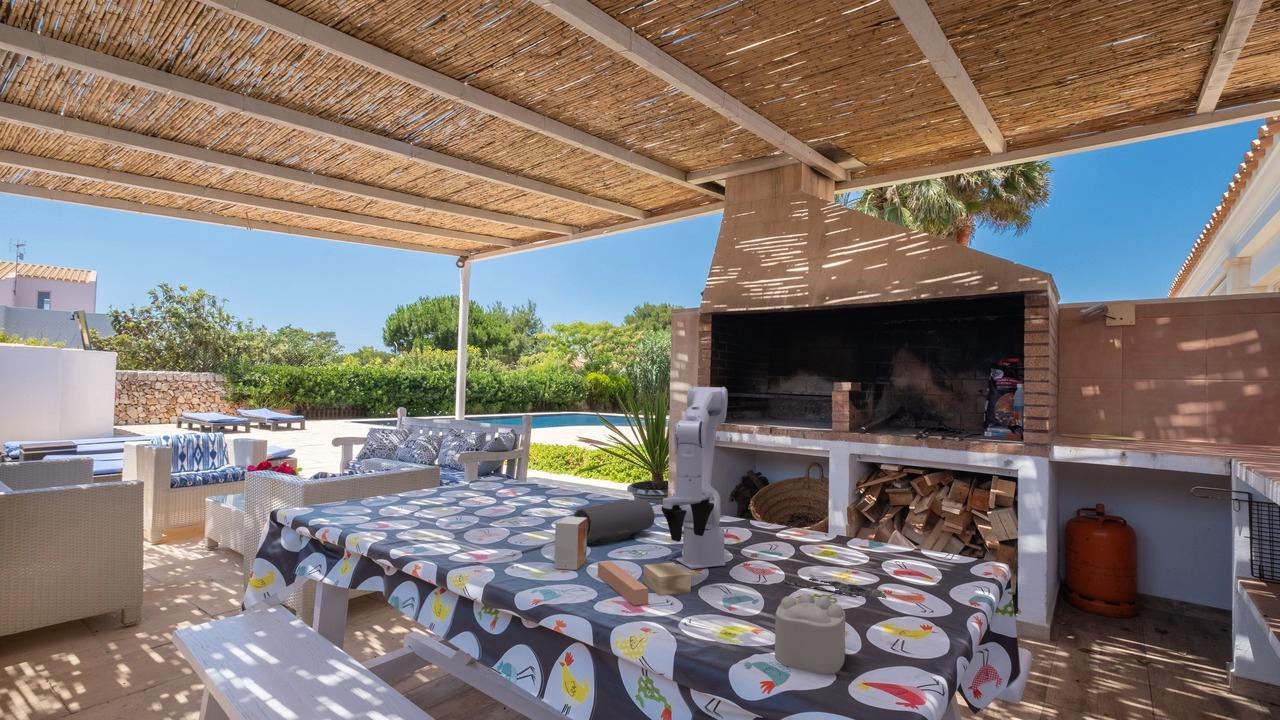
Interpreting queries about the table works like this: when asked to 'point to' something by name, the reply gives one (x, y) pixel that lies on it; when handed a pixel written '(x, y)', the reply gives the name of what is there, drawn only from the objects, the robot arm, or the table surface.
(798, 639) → the lumpy-topped squat cylinder
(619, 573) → the terracotta batten
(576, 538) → the small box
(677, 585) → the beech block
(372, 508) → the table surface
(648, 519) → the bluetooth speaker
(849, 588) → the driftwood
